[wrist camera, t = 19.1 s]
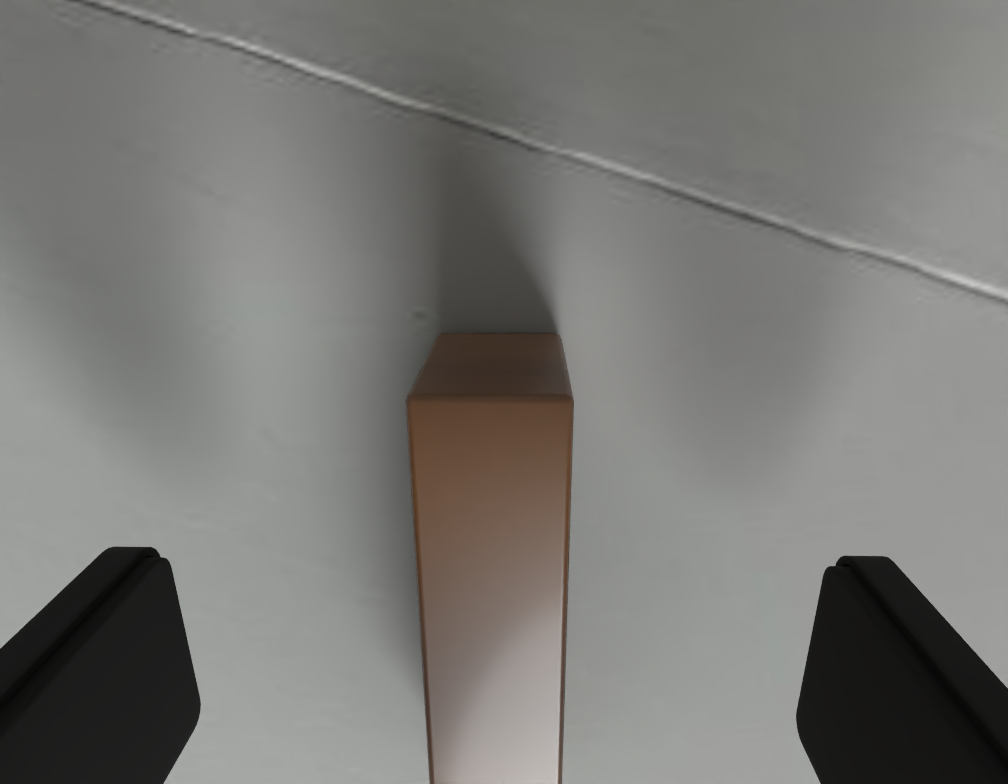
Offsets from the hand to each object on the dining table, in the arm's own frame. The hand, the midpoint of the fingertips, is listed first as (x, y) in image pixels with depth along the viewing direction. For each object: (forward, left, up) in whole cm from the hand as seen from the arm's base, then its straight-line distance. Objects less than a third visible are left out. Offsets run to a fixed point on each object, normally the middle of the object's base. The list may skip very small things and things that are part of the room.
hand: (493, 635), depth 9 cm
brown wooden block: (+1, 0, -3) cm, 3 cm away
